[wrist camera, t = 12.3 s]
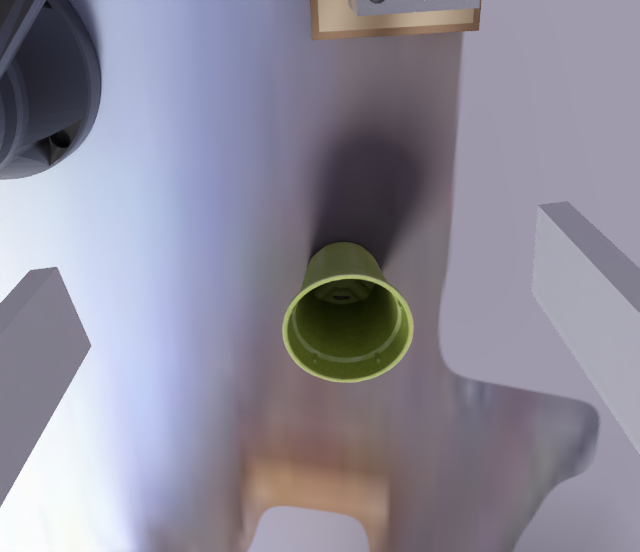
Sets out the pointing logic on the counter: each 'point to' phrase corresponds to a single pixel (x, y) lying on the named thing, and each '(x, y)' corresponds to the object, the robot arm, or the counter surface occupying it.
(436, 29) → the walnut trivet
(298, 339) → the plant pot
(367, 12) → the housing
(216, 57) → the counter surface
